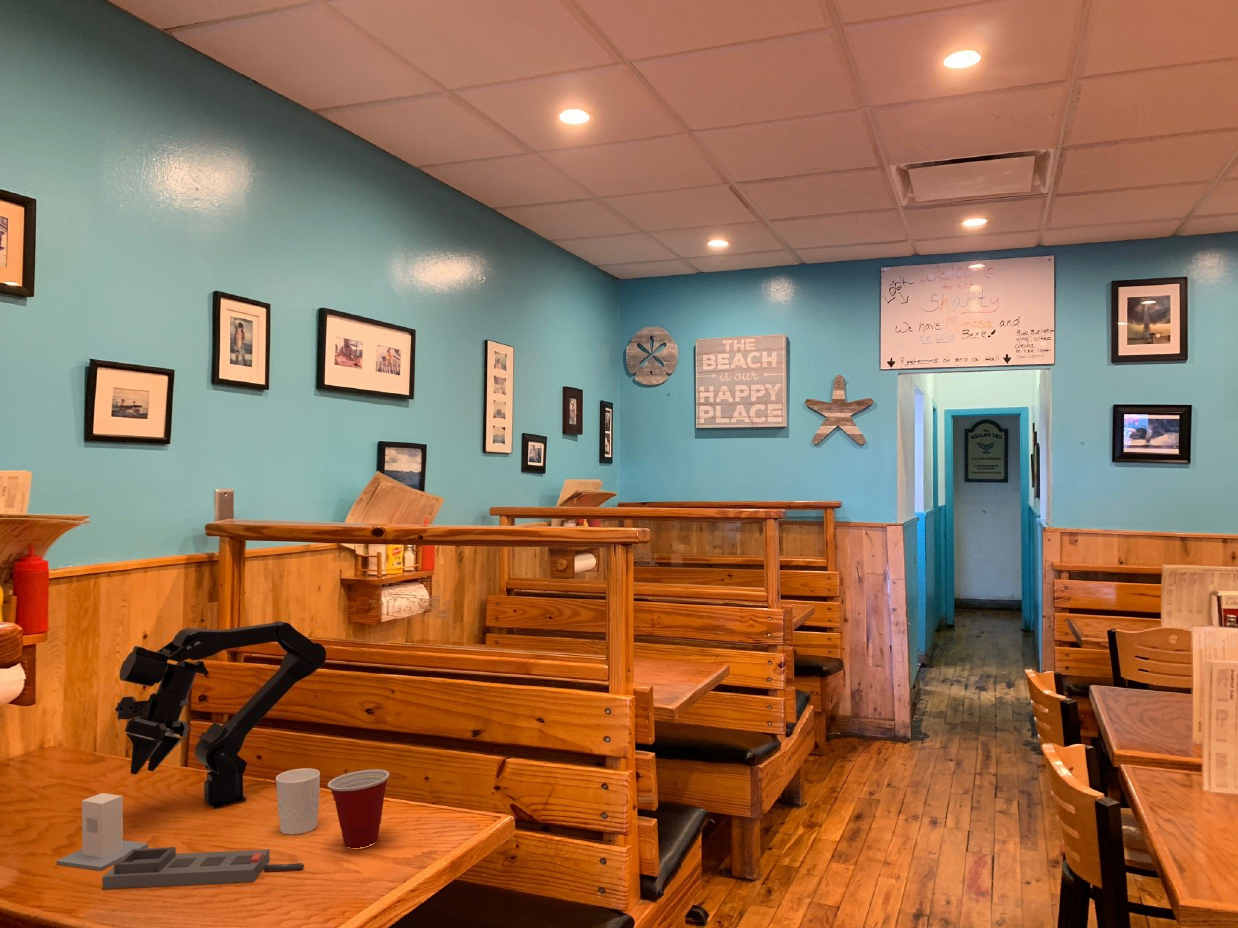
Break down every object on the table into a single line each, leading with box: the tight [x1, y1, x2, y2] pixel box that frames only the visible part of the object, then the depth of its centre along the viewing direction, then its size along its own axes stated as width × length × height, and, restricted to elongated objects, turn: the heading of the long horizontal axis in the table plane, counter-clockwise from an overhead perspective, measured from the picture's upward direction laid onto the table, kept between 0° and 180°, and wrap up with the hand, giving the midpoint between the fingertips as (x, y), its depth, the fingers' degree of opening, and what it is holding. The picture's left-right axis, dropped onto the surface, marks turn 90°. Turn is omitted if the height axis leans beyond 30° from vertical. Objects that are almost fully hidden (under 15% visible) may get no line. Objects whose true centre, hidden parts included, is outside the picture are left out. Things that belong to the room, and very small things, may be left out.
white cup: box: [275, 767, 321, 836], centre depth 169 cm, size 8×8×10 cm
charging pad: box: [55, 840, 149, 871], centre depth 159 cm, size 10×10×1 cm
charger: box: [81, 792, 124, 859], centre depth 159 cm, size 4×5×10 cm
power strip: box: [101, 846, 305, 890], centre depth 150 cm, size 31×8×4 cm, turn 93°
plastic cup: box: [327, 768, 390, 848], centre depth 162 cm, size 11×11×12 cm
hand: (142, 772), depth 173 cm, fingers open, 9 cm apart
